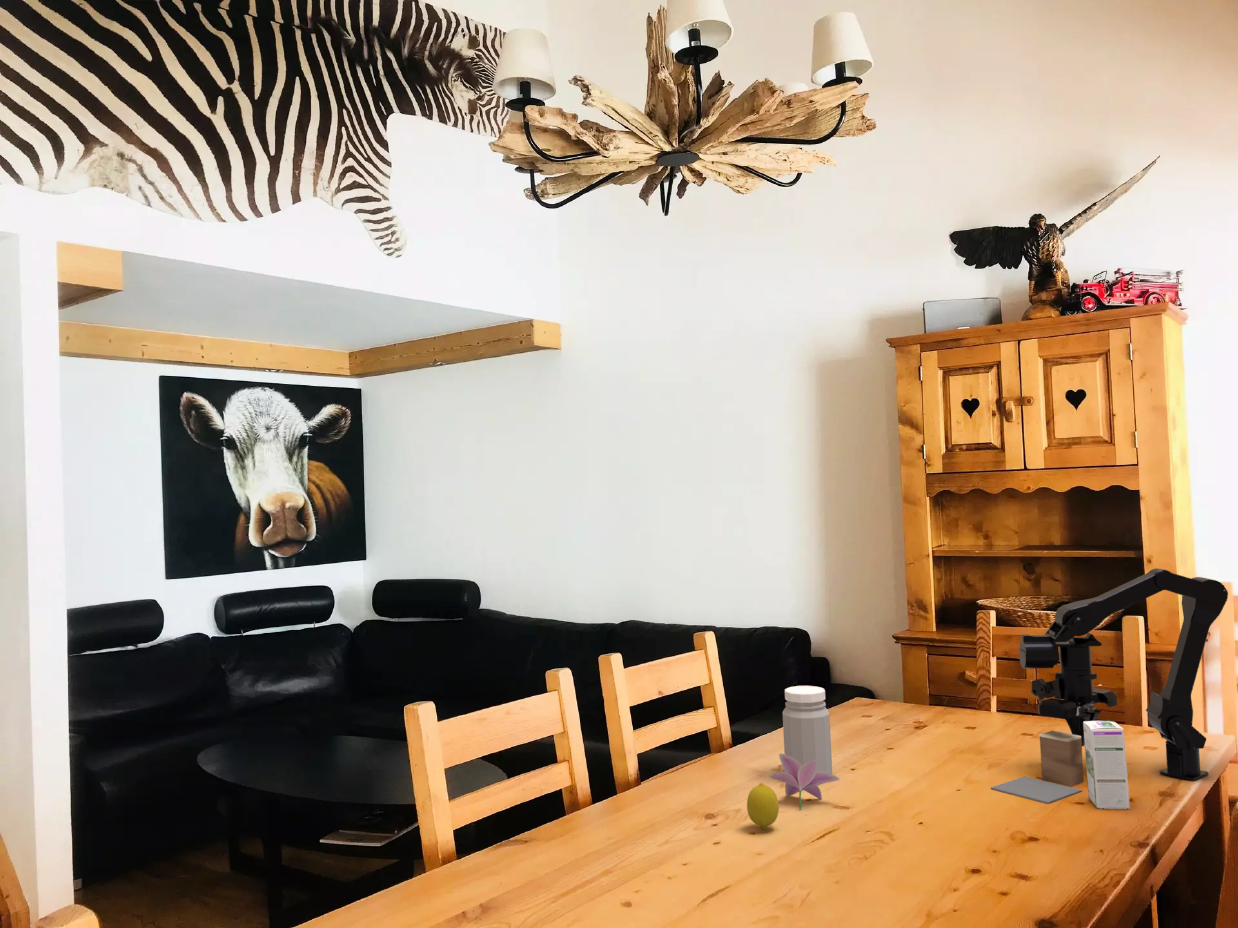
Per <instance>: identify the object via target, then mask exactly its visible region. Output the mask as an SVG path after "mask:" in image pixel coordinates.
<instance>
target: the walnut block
mask: <svg viewBox="0 0 1238 928" xmlns="http://www.w3.org/2000/svg"><path fill="white" fill-rule="evenodd" d="M1039 747H1040V764H1041V765H1040V766H1041V767H1040V768H1041V780H1042V781H1046V782H1051V783H1055V784H1059V785H1063V786H1067V787H1071V788H1073V787H1074V786H1078V785H1080V784H1082V783H1085V781H1084V779H1085V778H1084V765H1083V764H1084V760H1083V746H1082V742H1081V736H1079V735H1073V734H1072V733H1068V732H1063V731H1058V730H1050V731H1049V730H1048V731H1047V732H1043V733H1039Z"/></svg>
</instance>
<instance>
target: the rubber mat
mask: <svg viewBox="0 0 1238 928" xmlns="http://www.w3.org/2000/svg"><path fill="white" fill-rule="evenodd" d="M990 789H991V790H993V791H996V792H997V791H998V792H1001V793H1005V794H1008V795H1013V796H1016V797H1020V798H1024V799H1028V800H1032V801H1036V802H1039V803H1043V804H1047V805H1049V804H1052V803H1054V802H1057V801H1060V800H1062V799H1065V798H1069V797H1071V796H1073V795H1076V794H1079V793H1082V792H1083V790H1082V789H1079V788H1075V787H1069V786H1065V785H1061V784H1056V783H1052V782H1048V781H1044V780H1042V779H1037V778H1033V777H1029V776H1021V777H1019V778H1015V779H1012V780H1010V781H1006V782H1003V783H1000V784H997V785H993V786H991V787H990Z"/></svg>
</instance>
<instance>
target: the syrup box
mask: <svg viewBox="0 0 1238 928" xmlns="http://www.w3.org/2000/svg"><path fill="white" fill-rule="evenodd" d="M1083 725H1084V741H1085V745H1084V753H1085V765H1086V769H1085V770H1086V779H1087V781H1086V783H1087V794H1088V800H1090V801H1091V803H1092V804H1093V805H1094V807H1096V809H1103V808H1104V809H1103V810H1130V807H1131V806H1130V805H1131V804H1130V791H1129V776H1128V765H1127V754H1126V753H1127V752H1126V743H1125V742H1126V741H1125V731H1124V728H1123V727H1122V726H1121V725H1119V724H1118V723H1117V722H1115V721H1114V720H1112V721H1111V720H1096V721H1086V722H1083ZM1127 808H1128V809H1127Z"/></svg>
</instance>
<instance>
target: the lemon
mask: <svg viewBox="0 0 1238 928" xmlns="http://www.w3.org/2000/svg"><path fill="white" fill-rule="evenodd" d="M779 809H780V806H779V800H778V797H777V793H776V792H775V790H774V789H772V787H770V786H769V785H766V784H764V783H763V782H760V783H759V784H757V785H756V786H754V787H752V789H751V790H750V791H749V794H748V795H747V801H746V810H747V814H748V817H749V818H750V820H751V822H753V823H754V824H755V825H756V826H759V827H760V829H761V830H766V829H767V828H768V827H770V826H771V825H772V824H774V822H776V820H777V818H778V815H779V811H780V810H779Z"/></svg>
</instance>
